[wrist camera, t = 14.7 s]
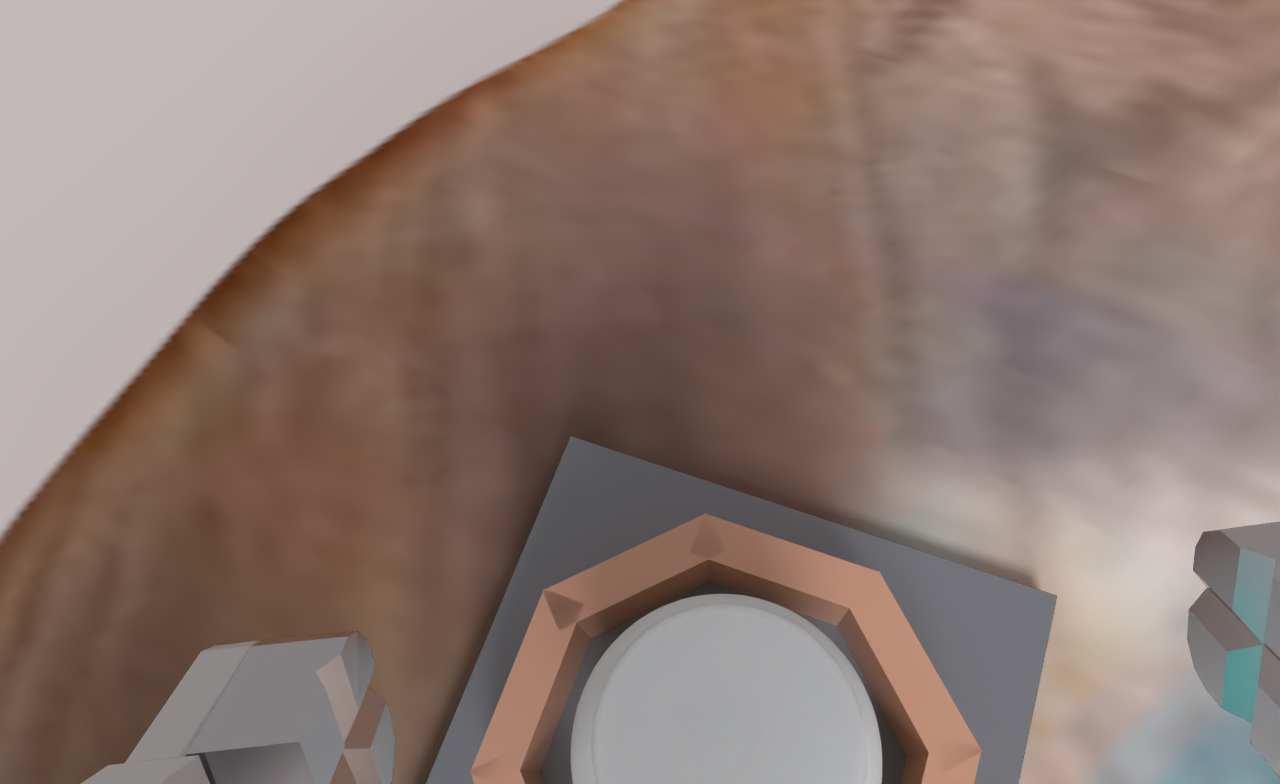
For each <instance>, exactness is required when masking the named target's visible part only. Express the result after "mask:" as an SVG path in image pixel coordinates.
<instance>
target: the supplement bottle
mask: <svg viewBox="0 0 1280 784" xmlns="http://www.w3.org/2000/svg"><path fill="white" fill-rule="evenodd" d="M571 773H572V782H573V784H881V782H882V747H881V739H880V733H879V728H878V723H877V719H876V715H875V712H874V709H873V706H872V703H871V701H870V698H869V696H868V694H867V692H866V689H865V687H864V685H863V683H862V681H861V679H860V678H859V676H858V674H857V672H856V671H855V669H854V668H853V666H852V665H851V663H850V662H849V660H848V659H847V658H846V656H845V655H844V654H843V653H842V652H841V651H840V649H839V648H838V647H837V646H836V645H835V644H834V643H833V642H832V640H831V639H830V638H828V637H827V636H826V635H825V634H824V633H823V632H821V631H820V630H819V629H818V628H817V627H815V626H814V625H813V624H812V623H810V622H809V621H807V620H806V619H804V618H802V617H801V616H799V615H798V614H796V613H794V612H792V611H791V610H788V609H786V608H784V607H782V606H780V605H777V604H775V603H772V602H769V601H766V600H763V599H759V598H754V597H750V596H744V595H738V594H709V595H700V596H694V597H689V598H685V599H681V600H678V601H675V602H673V603H670V604H667V605H665V606H662V607H660V608H658V609H656V610H654V611H652V612H650V613H649V614H647V615H646V616H644V617H642V618H641V619H639V620H638V621H636V622H635V623H634V624H633V625H631V626H630V627H629V628H628V629H626V630H625V631H624V632H623V633H622V634H621V635H620V636H619V637H618V638H617V639H616V640H615V641H614V642H613V643H612V644H611V646H610V647H609V648H608V649H607V650H606V652H605V653H604V654H603V656H602V657H601V659H600V660H599V661H598V663H597V664H596V666H595V667H594V669H593V671H592V673H591V675H590V677H589V679H588V681H587V683H586V685H585V688H584V690H583V692H582V695H581V698H580V701H579V703H578V706H577V710H576V715H575V719H574V723H573V730H572V739H571Z"/></svg>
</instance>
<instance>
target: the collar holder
mask: <svg viewBox="0 0 1280 784" xmlns="http://www.w3.org/2000/svg"><path fill="white" fill-rule="evenodd" d="M709 594H738V595H744V596H750V597H754V598H759V599H763V600H766V601H769V602H772V603H775V604H777V605H780V606H782V607H784V608H786V609H788V610H791V611H792V612H794V613H796V614H798V615H799V616H801V617H802V618H804V619H806V620H807V621H809V622H810V623H812V624H813V625H814V626H815V627H817V628H818V629H819V630H820V631H821V632H823V633H824V634H825V635H826V636H827V637H828V638H830V639H831V640H832V642H833V643H834V644H835V645H836V646H837V647H838V648H839V649H840V651H841V652H842V653H843V654H844V655H845V656H846V658H847V659H848V660H849V662H850V663H851V665H852V666H853V668H854V669H855V671H856V672H857V674H858V676H859V678H860V679H861V681H862V683H863V685H864V687H865V689H866V692H867V694H868V696H869V698H870V701H871V703H872V706H873V709H874V712H875V715H876V719H877V723H878V728H879V733H880V739H881V747H882V782H881V784H1018V782H1019V778H1020V773H1021V768H1022V763H1023V758H1024V754H1025V749H1026V744H1027V739H1028V734H1029V729H1030V725H1031V720H1032V715H1033V710H1034V705H1035V701H1036V696H1037V691H1038V686H1039V681H1040V676H1041V672H1042V667H1043V662H1044V657H1045V652H1046V648H1047V643H1048V638H1049V633H1050V628H1051V623H1052V619H1053V614H1054V609H1055V604H1056V599H1057V596H1056V595H1053V594H1050V593H1047V592H1044V591H1041V590H1038V589H1035V588H1032V587H1029V586H1026V585H1023V584H1020V583H1017V582H1014V581H1011V580H1008V579H1004V578H1001V577H998V576H995V575H992V574H989V573H986V572H983V571H980V570H977V569H974V568H971V567H968V566H965V565H962V564H959V563H956V562H953V561H950V560H947V559H944V558H941V557H937V556H934V555H931V554H928V553H925V552H922V551H919V550H916V549H913V548H910V547H907V546H904V545H901V544H898V543H895V542H892V541H889V540H886V539H883V538H880V537H877V536H873V535H870V534H867V533H864V532H861V531H858V530H855V529H852V528H849V527H846V526H843V525H840V524H837V523H834V522H831V521H828V520H825V519H822V518H819V517H816V516H813V515H810V514H806V513H803V512H800V511H797V510H794V509H791V508H788V507H785V506H782V505H779V504H776V503H773V502H770V501H767V500H764V499H761V498H758V497H755V496H752V495H749V494H746V493H743V492H739V491H736V490H733V489H730V488H727V487H724V486H721V485H718V484H715V483H712V482H709V481H706V480H703V479H700V478H697V477H694V476H691V475H688V474H685V473H682V472H679V471H675V470H672V469H669V468H666V467H663V466H660V465H657V464H654V463H651V462H648V461H645V460H642V459H639V458H636V457H633V456H630V455H627V454H624V453H621V452H618V451H615V450H612V449H608V448H605V447H602V446H599V445H596V444H593V443H590V442H587V441H584V440H581V439H578V438H575V437H572V436H571V437H570V439H569V442H568V444H567V446H566V449H565V451H564V454H563V456H562V458H561V461H560V463H559V466H558V468H557V470H556V473H555V475H554V478H553V480H552V482H551V485H550V487H549V490H548V492H547V494H546V497H545V499H544V501H543V504H542V506H541V509H540V511H539V513H538V516H537V518H536V521H535V523H534V525H533V528H532V530H531V533H530V535H529V537H528V540H527V542H526V545H525V547H524V549H523V552H522V554H521V557H520V559H519V561H518V564H517V566H516V569H515V571H514V573H513V576H512V578H511V581H510V583H509V585H508V588H507V590H506V593H505V595H504V597H503V600H502V602H501V605H500V607H499V609H498V612H497V614H496V617H495V619H494V621H493V624H492V626H491V629H490V631H489V633H488V636H487V638H486V641H485V643H484V645H483V648H482V650H481V653H480V655H479V657H478V660H477V662H476V665H475V667H474V669H473V672H472V674H471V677H470V679H469V681H468V684H467V686H466V689H465V691H464V693H463V696H462V698H461V701H460V703H459V705H458V708H457V710H456V713H455V715H454V717H453V720H452V722H451V724H450V727H449V729H448V732H447V734H446V736H445V739H444V741H443V744H442V746H441V748H440V751H439V753H438V756H437V758H436V760H435V763H434V765H433V768H432V770H431V772H430V775H429V777H428V780H427V782H426V784H573V782H572V773H571V739H572V730H573V723H574V719H575V715H576V710H577V706H578V703H579V701H580V698H581V695H582V692H583V690H584V688H585V685H586V683H587V681H588V679H589V677H590V675H591V673H592V671H593V669H594V667H595V666H596V664H597V663H598V661H599V660H600V659H601V657H602V656H603V654H604V653H605V652H606V650H607V649H608V648H609V647H610V646H611V644H612V643H613V642H614V641H615V640H616V639H617V638H618V637H619V636H620V635H621V634H622V633H623V632H624V631H625V630H626V629H628V628H629V627H630V626H631V625H633V624H634V623H635V622H636V621H638V620H639V619H641V618H642V617H644V616H646V615H647V614H649V613H650V612H652V611H654V610H656V609H658V608H660V607H662V606H665V605H667V604H670V603H673V602H675V601H678V600H681V599H685V598H689V597H694V596H700V595H709Z"/></svg>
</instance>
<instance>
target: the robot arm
mask: <svg viewBox="0 0 1280 784" xmlns="http://www.w3.org/2000/svg"><path fill="white" fill-rule="evenodd" d="M1193 571H1194V572H1195V573H1196V574H1197V576H1198V577H1199V578H1200V579H1201V580H1202V582H1203V583H1204V584H1205V585H1206V587H1207V589H1206V590H1205V591H1204V592H1203V593H1202V595H1201V596H1200V597H1199V598H1198V599H1197V600H1196V602H1195V603H1194V604H1193V605H1192V606H1191V608H1190V609H1189V617H1188V636H1187V640H1188V644H1189V648H1190V652H1191V656H1192V660H1193V664H1194V668H1195V670H1196V672H1197V673H1198V675H1199V677H1200V679H1201V681H1202V683H1203V685H1204V687H1205V689H1206V690H1207V691H1208V692H1209V694H1210V695H1211V696H1212V697H1213V698H1214V700H1215V701H1216V702H1217V703H1218V705H1219V706H1220V707H1221V708H1223V709H1225V710H1227V711H1229V712H1231V713H1233V714H1235V715H1237V716H1239V717H1241V718H1243V719H1245V720H1247V721H1249V722H1251V723H1253V726H1252V734H1251V742H1250V743H1251V744H1252V745H1253V746H1254V748H1255V749H1256V750H1257V751H1258V752H1259V753H1260V755H1261V756H1262V757H1263V758H1264V759H1265V761H1266V762H1267V763H1268V764H1269V765H1270V766H1271V768H1272V769H1273V770H1274V771H1275V772H1276V773H1277V775H1278V776H1279V777H1280V522H1273V523H1266V524H1259V525H1251V526H1244V527H1236V528H1229V529H1221V530H1214V531H1207V532H1203V533H1202V535H1201V537H1200V539H1199V541H1198V543H1197V545H1196V548H1195V556H1194V565H1193ZM375 667H376V665H375V662H374V659H373V656H372V653H371V650H370V647H369V644H368V641H367V638H365V637H364V636H363V635H362V634H360V633H359V632H358V631H352V632H342V633H332V634H322V635H311V636H301V637H291V638H281V639H270V640H262V641H260V642H257V641H249V642H242V643H234V644H226V645H218V646H213V647H210V648H208V649H206V650H203V651H201V652H200V654H199V655H198V656H197V658H196V659H195V661H194V662H193V664H192V665H191V667H190V668H189V670H188V671H187V672H186V674H185V675H184V677H183V678H182V680H181V681H180V683H179V684H178V686H177V687H176V689H175V690H174V692H173V693H172V694H171V696H170V697H169V699H168V700H167V702H166V703H165V705H164V706H163V708H162V709H161V711H160V712H159V714H158V715H157V716H156V718H155V719H154V721H153V722H152V724H151V725H150V727H149V728H148V730H147V731H146V733H145V734H144V736H143V737H142V738H141V740H140V741H139V743H138V744H137V746H136V747H135V749H134V750H133V752H132V753H131V755H130V756H129V758H128V759H127V760H126V762H125V763H122V764H114V765H108V766H106V767H105V768H103V769H102V770H100V771H99V772H97V773H96V774H94V775H93V776H91V777H90V778H88V779H87V780H85V781H84V782H82V783H81V784H391V781H392V778H393V770H394V756H395V740H394V732H393V724H392V719H391V716H390V712H389V709H388V705H387V702H386V701H385V700H384V699H382V698H381V697H380V696H379V695H377V694H376V693H375V692H374V691H372V690H371V689H370V688H369V687H368V685H369V682H370V680H371V677H372V674H373V672H374V669H375Z"/></svg>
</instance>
